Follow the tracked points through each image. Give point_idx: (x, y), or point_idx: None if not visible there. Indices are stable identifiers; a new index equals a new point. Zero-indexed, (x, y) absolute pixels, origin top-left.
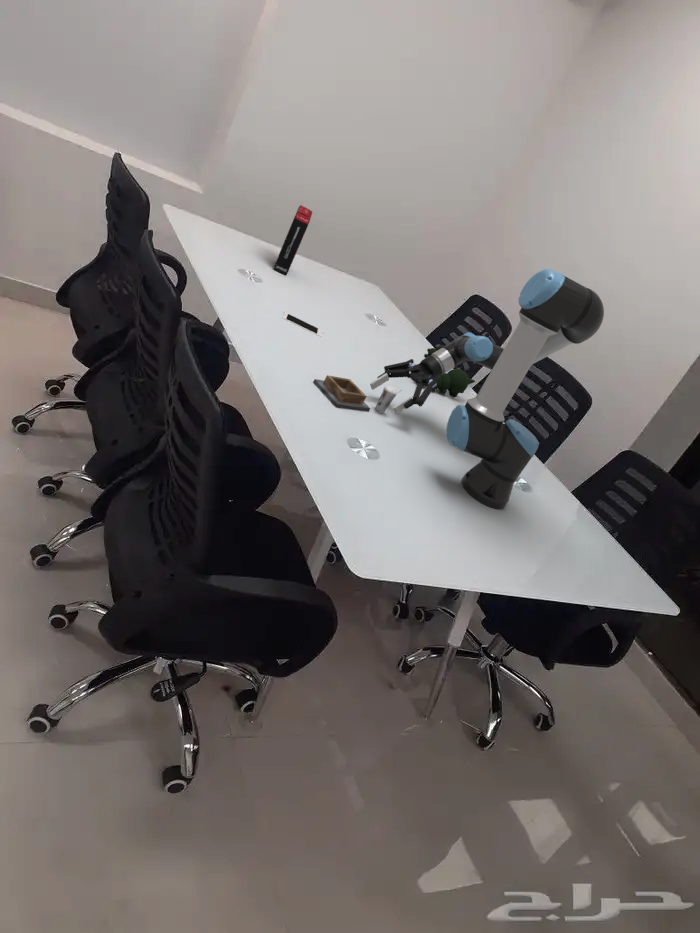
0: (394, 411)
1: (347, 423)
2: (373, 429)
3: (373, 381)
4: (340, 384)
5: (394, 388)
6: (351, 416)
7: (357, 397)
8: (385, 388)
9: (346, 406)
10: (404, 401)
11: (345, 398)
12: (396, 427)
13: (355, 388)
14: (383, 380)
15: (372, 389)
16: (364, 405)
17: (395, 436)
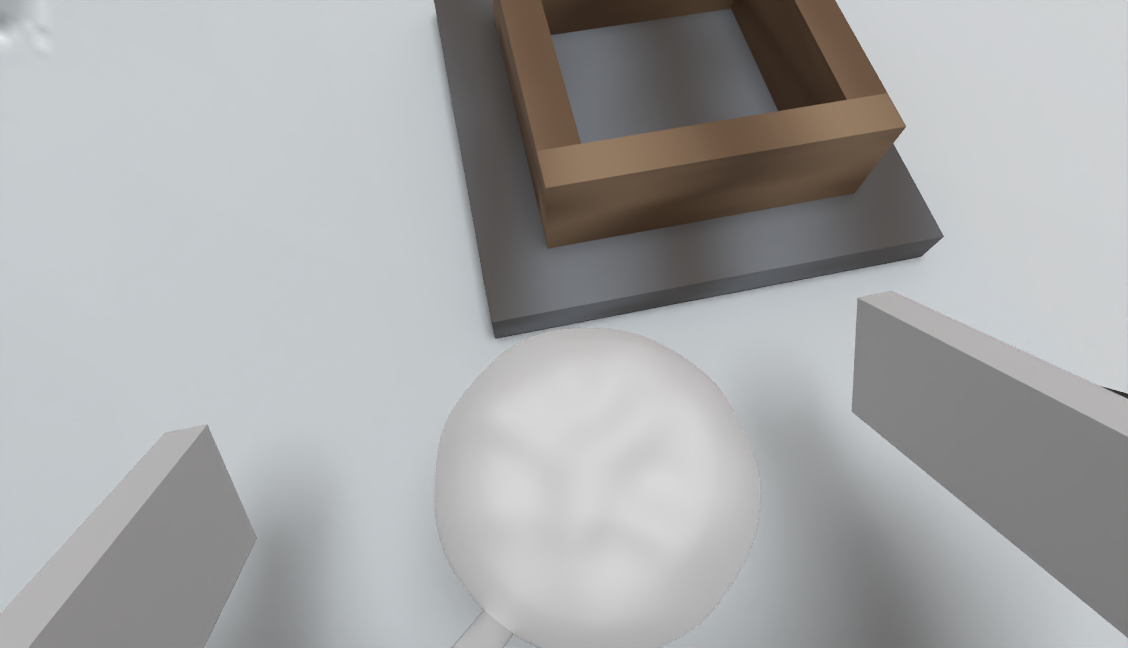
0: (242, 515)
1: (217, 27)
2: (154, 238)
3: (928, 315)
4: (788, 77)
5: (631, 567)
6: (336, 101)
7: (523, 110)
8: (589, 328)
9: (447, 73)
10: (32, 598)
11: (500, 29)
12: (236, 636)
13: (706, 131)
14: (1046, 496)
15: (854, 403)
16: (530, 265)
17: (34, 486)
